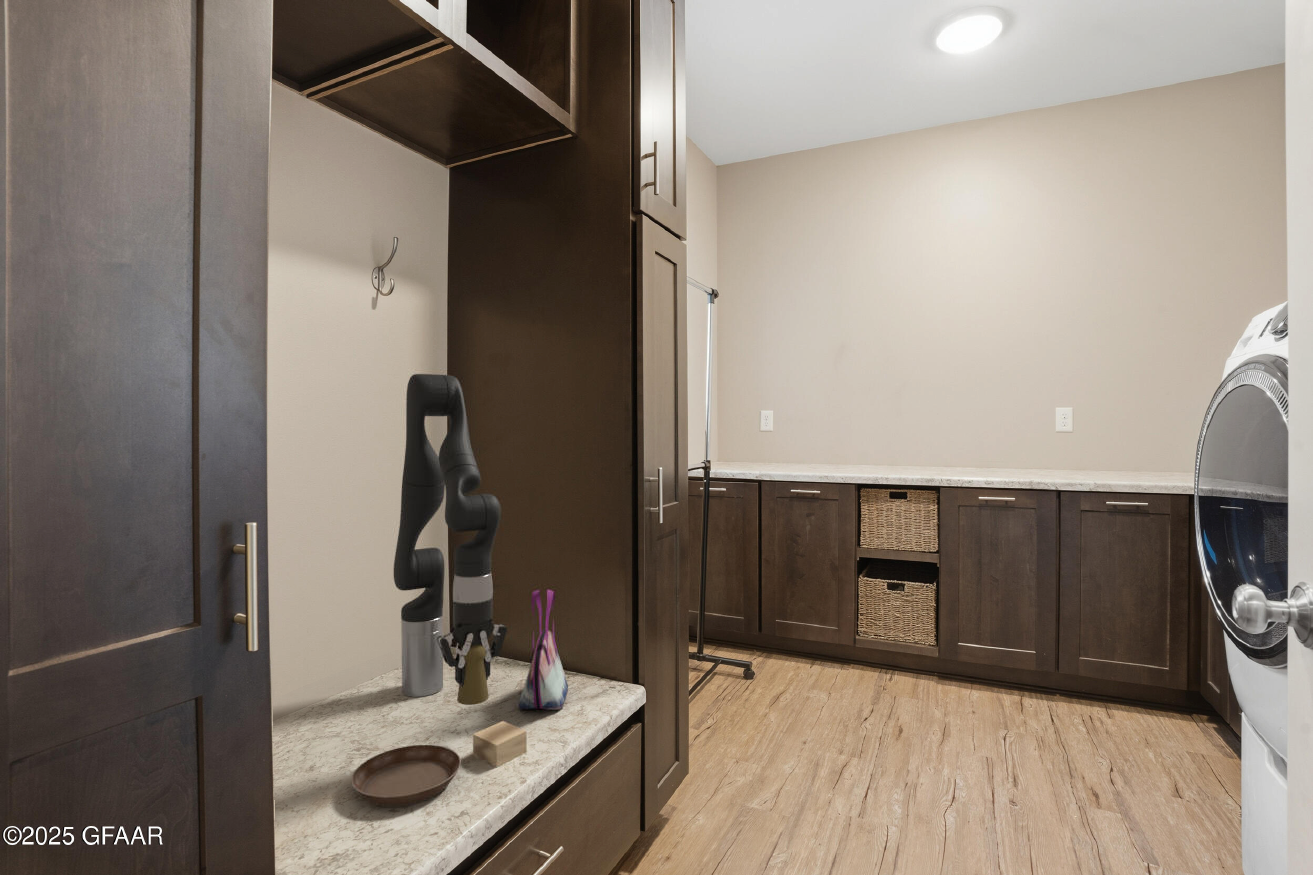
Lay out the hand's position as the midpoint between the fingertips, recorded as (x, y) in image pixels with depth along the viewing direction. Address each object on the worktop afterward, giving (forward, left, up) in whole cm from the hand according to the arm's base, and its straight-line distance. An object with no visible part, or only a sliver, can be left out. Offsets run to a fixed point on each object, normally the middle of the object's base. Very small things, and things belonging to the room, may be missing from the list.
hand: (472, 681), depth 128 cm
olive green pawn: (0, 0, -4) cm, 4 cm away
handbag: (-9, +20, -12) cm, 25 cm away
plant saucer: (+8, -15, -12) cm, 21 cm away
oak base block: (+8, +2, -12) cm, 14 cm away
